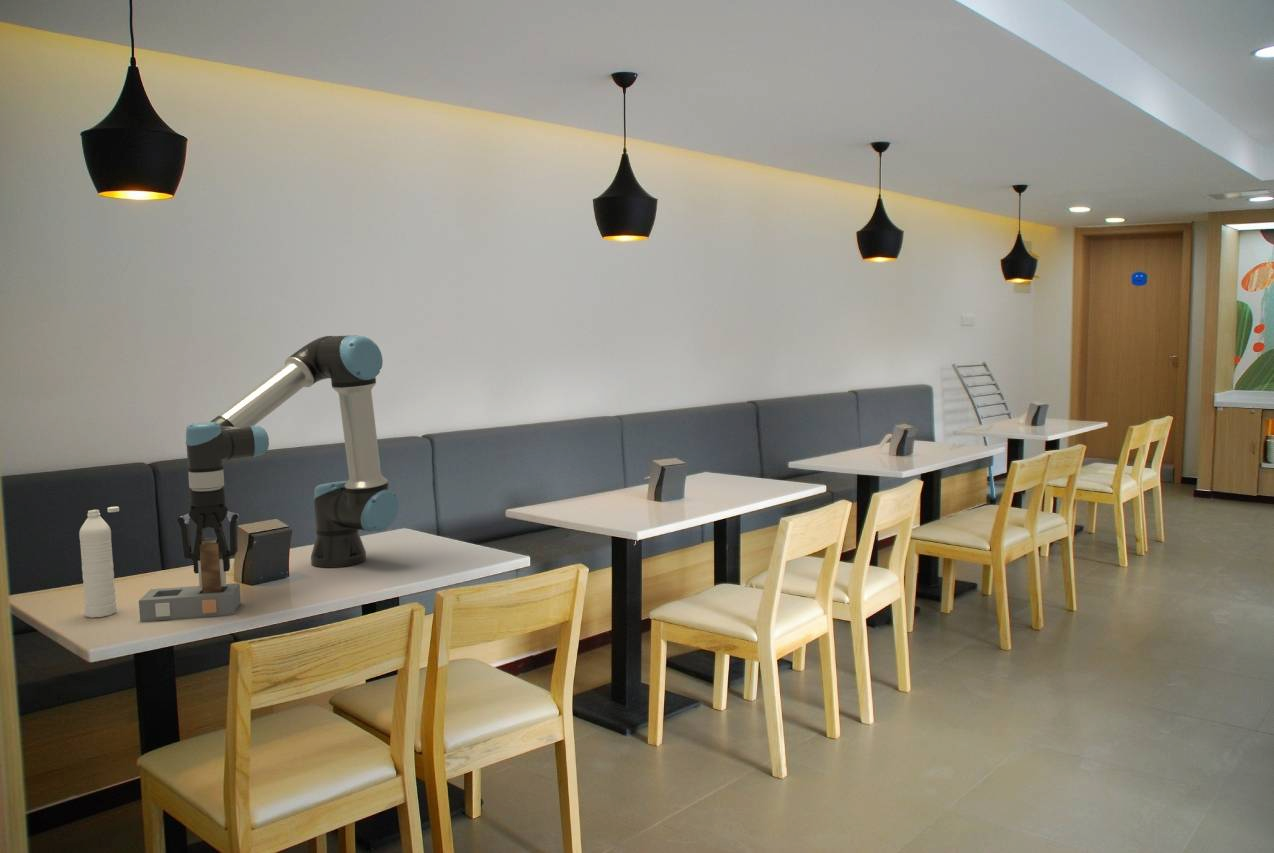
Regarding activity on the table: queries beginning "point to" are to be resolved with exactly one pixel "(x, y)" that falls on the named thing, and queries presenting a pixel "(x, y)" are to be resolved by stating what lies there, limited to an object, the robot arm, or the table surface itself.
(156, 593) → the socket block
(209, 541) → the plug
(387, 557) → the table surface
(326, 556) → the robot arm
